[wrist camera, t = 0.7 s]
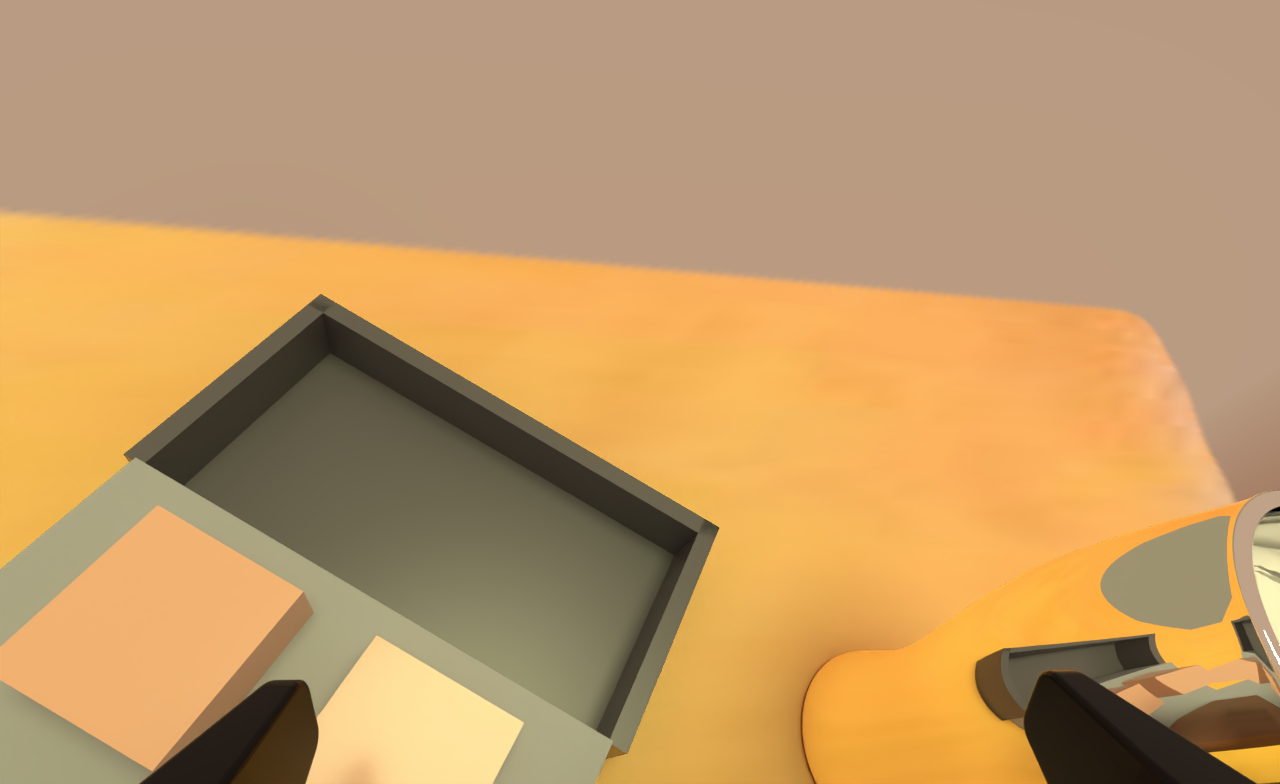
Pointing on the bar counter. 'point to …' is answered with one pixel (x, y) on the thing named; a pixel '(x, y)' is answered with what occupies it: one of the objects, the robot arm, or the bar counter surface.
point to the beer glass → (1075, 659)
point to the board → (318, 654)
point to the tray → (446, 510)
